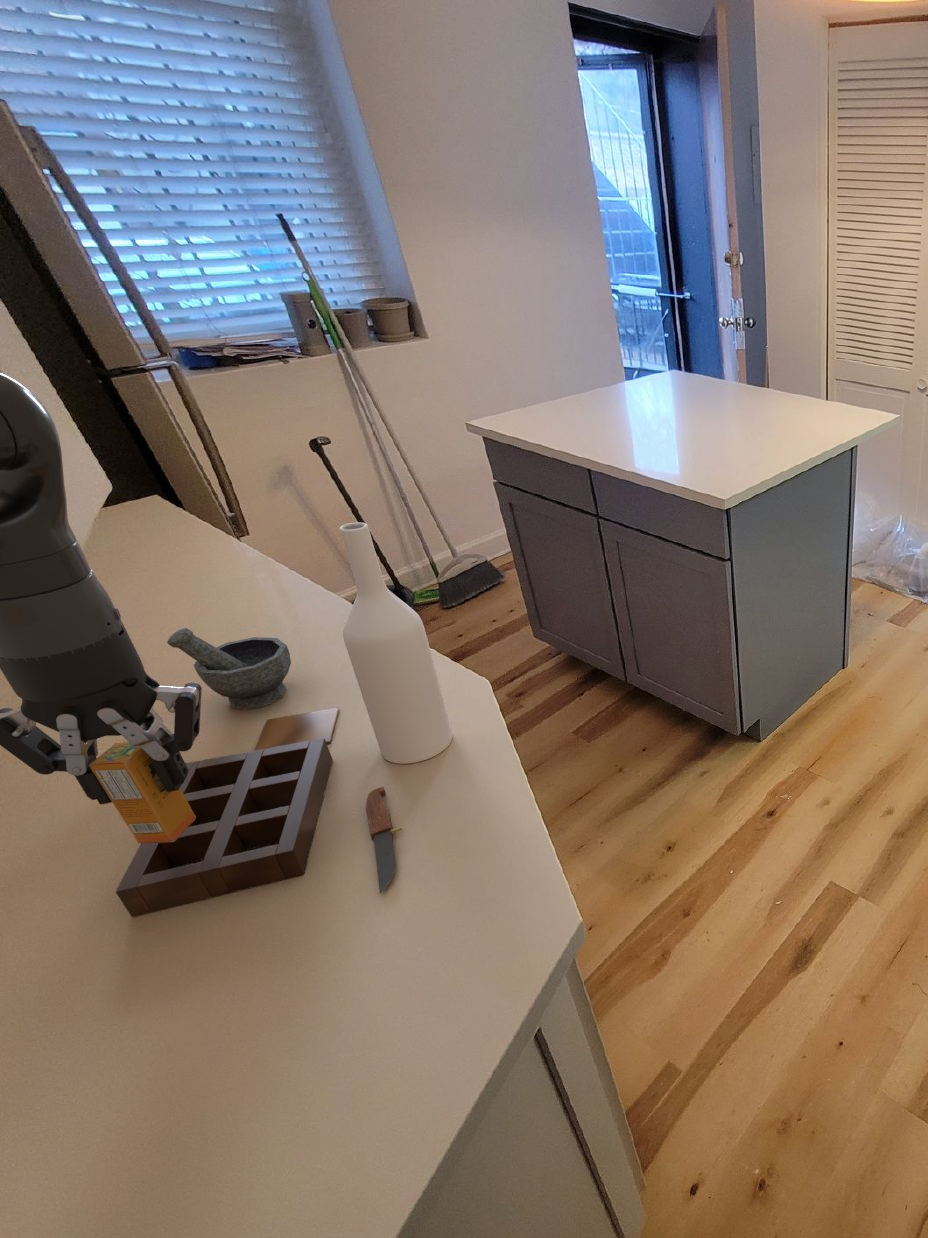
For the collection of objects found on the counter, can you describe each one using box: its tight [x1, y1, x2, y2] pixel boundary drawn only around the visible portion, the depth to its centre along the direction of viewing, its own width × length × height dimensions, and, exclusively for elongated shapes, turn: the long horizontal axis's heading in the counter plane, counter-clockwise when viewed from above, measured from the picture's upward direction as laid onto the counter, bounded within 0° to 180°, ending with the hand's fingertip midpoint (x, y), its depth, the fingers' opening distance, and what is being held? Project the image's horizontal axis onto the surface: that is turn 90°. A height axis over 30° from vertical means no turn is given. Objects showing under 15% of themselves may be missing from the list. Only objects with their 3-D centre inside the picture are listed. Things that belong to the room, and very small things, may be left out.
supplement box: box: [89, 741, 196, 845], centre depth 64 cm, size 3×3×10 cm
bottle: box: [338, 521, 453, 765], centre depth 82 cm, size 8×8×30 cm
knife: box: [365, 786, 404, 894], centre depth 75 cm, size 17×1×3 cm
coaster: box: [253, 707, 340, 751], centre depth 90 cm, size 8×8×1 cm
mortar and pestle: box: [166, 627, 292, 710], centre depth 93 cm, size 11×9×12 cm
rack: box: [115, 738, 334, 918], centre depth 75 cm, size 14×20×4 cm
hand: (144, 790), depth 64 cm, fingers closed on supplement box, 4 cm apart
